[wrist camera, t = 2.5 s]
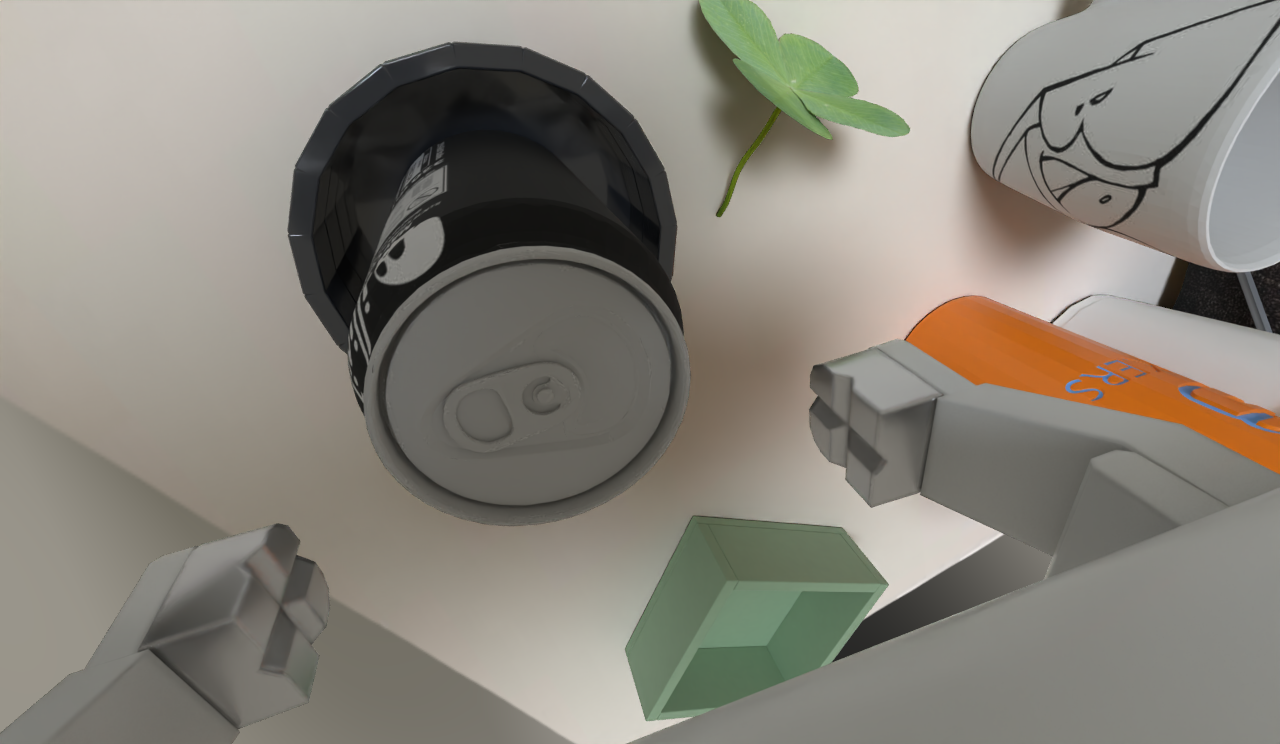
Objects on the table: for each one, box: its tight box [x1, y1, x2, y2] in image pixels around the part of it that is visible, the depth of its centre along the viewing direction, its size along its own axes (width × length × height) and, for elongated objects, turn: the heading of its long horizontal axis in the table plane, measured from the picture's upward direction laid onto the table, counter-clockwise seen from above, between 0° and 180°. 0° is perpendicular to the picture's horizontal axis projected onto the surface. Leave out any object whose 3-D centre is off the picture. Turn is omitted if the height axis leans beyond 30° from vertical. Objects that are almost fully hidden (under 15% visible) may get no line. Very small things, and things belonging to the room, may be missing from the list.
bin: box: [625, 516, 889, 721], centre depth 33 cm, size 11×11×5 cm
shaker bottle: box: [906, 296, 1280, 474], centre depth 22 cm, size 9×9×20 cm
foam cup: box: [1052, 295, 1280, 417], centre depth 28 cm, size 10×9×13 cm
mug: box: [971, 0, 1280, 272], centre depth 19 cm, size 11×8×10 cm
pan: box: [287, 42, 677, 354], centre depth 18 cm, size 11×11×4 cm
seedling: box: [698, 0, 910, 217], centre depth 20 cm, size 7×8×6 cm
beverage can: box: [348, 130, 691, 526], centre depth 15 cm, size 7×7×12 cm
